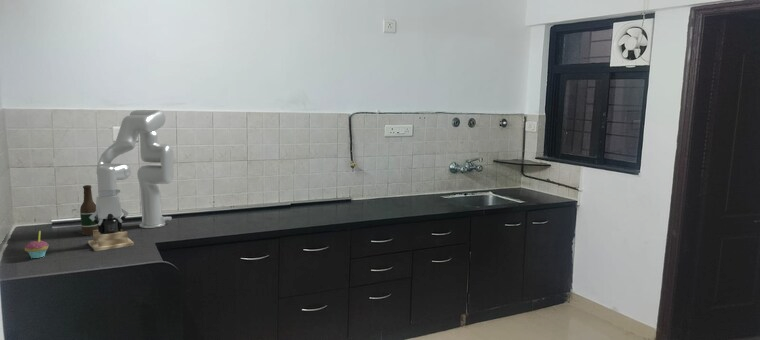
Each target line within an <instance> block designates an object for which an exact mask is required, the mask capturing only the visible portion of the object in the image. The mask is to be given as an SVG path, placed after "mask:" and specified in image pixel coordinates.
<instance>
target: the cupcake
mask: <svg viewBox="0 0 760 340" xmlns="http://www.w3.org/2000/svg"><path fill="white" fill-rule="evenodd" d="M41 234H42V233H41V230H39V231H38V238H37V240H34V241H33V240H32V241H29V242H28V243H27V244H25V246H24V251H25V252H27V253H28V254H29V256H30V258H31V259H32V258H39V257H43V256H44V257H46V252H47V250H48V249H49V246H50V245H49V243H48V242H46V241H44V240H41ZM44 257H43V258H44Z"/></svg>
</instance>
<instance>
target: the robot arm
mask: <svg viewBox="0 0 760 340" xmlns="http://www.w3.org/2000/svg"><path fill="white" fill-rule="evenodd" d="M165 123H166V115H165V113H164V112H163V111H162V110H158V109H156V110H155V109H137V110H133V111H131V112H130V113H129V115H127V116H124V118H123V119H122V121H121V123H120V127H119V130H118V133H117V136H116V139H115V142H113V143H112V144H111V145H110V146H108V147H107V148H106V149H105V150H104V151H103V153H101V155H100V156H99V157H100V158H99V160H98V163H97V166H96V178H97V191H98V192H97V194H98V196H96V198H95V204H96V211H95V212H94V213H93V214H92V215H91V216H90V217H89V218H90V219H91V220H92V221H94V222H95V223H96V224H98V231H99V232H100V233H101V234H103V227H102V224H101V223H102V221H103V219H107V217H108V214H112V215H113V216H114V217H113V218H117V219H118V227H119V231H121V229H122V230H123V225H122V224H123V221H124V220H125V219H126V217H127V216H128V215H129V212H128V211H126V210H125V209H123V208H122V205H121V204H122V203H121V199H120V196H119V193H121V189H117V187H118V186H117V181H123V180H126V179H128V178H129V177H130V176H131V172H132V171H131V168H130V167H129V166H128V165H127V164H125V163H112V162H113V160H114V159H115V158H117V157H119V156H120V155H124V154H126V153H128V152H130V151H132V150H134V148H135V146H136V143H137V139H138V136H139V143H140V145H139V148H140V151H139V152H140V159H141V161H142V162H145V163H150V164H148V165H147V164H145V165H141V166H140V167H138V170H137V180H138V184H139V189H140V206H141V223H139V225H138V226H139V227H140V228H142V229H155V228H160V227H164V226H165V225H166V221H172V219H173V218H172V216H163V215H162V214H163V213H162V198H161V197H162V194H161V189H160V188H159V186H158V185H167V184H171V183H172V182H173V180H174V174H175V173H174V170H175V169H174V151H173V148H172V147H171V145H169V144H166V143H164V144H163V143H161V144H160V143H159V135H158V134H159V133H158V132H157V130H158V129H160V128H163V126H164V125H165ZM151 163H156V164H157V163H158V164H159V163H160V165H158V164H157V165H156V164H154V165H153V164H151ZM122 214H123V215H122ZM95 216H96V217H98V221H97V220H96V219H95V218H94V217H95Z"/></svg>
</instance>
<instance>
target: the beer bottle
mask: <svg viewBox="0 0 760 340" xmlns="http://www.w3.org/2000/svg"><path fill="white" fill-rule="evenodd" d="M82 188H83V201H82V204H81V205H80V209H79V210H80V211H79V213H80V216H79V217H80V227H81V229H80V230H81V234H82V236H84V235H86V236H87V237H89V236H90V235H91V236H93V230H98V224H96V223H95V222H94V221H92V220H91V219H90V218H89V217H90V216H91V215H92V214H93V213H94V212H95V211H96V202H94V199H93V193H92V185H89V184H88V185H87V184H86V185H83V186H82ZM94 218H95V219H96V220H97V221H98V217H96V216H95V217H94Z"/></svg>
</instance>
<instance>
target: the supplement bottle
mask: <svg viewBox="0 0 760 340" xmlns="http://www.w3.org/2000/svg"><path fill="white" fill-rule="evenodd" d="M113 217H114V216H113V215H112V214H108V217H107V219H103V221H102V223H101V224H102V227H103V234H102V235H104V234H111V233H118V232H119V227H118V219H117V218H113Z"/></svg>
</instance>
